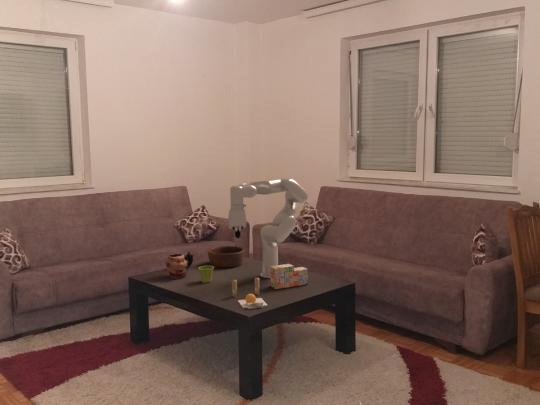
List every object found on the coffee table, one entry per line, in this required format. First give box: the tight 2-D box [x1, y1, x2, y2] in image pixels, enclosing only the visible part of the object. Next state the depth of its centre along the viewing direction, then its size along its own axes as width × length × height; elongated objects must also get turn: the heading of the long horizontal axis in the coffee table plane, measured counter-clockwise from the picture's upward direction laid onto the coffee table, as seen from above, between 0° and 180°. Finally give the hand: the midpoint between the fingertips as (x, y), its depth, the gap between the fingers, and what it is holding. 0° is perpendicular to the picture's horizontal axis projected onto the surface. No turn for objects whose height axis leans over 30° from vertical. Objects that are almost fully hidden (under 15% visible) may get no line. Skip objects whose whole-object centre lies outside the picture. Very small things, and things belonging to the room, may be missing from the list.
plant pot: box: [198, 265, 215, 284], centre depth 332 cm, size 9×9×9 cm
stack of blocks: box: [270, 263, 309, 290], centre depth 321 cm, size 21×6×12 cm, turn 115°
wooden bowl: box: [207, 245, 246, 269], centre depth 373 cm, size 25×25×10 cm
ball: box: [244, 293, 257, 303], centre depth 287 cm, size 6×6×6 cm
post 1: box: [231, 279, 238, 298], centre depth 301 cm, size 3×3×9 cm
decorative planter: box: [165, 253, 188, 279], centre depth 344 cm, size 20×12×14 cm, turn 40°
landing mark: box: [237, 297, 268, 309], centre depth 290 cm, size 13×13×1 cm
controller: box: [183, 251, 194, 269], centre depth 366 cm, size 4×12×10 cm, turn 133°
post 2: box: [254, 277, 261, 296], centre depth 304 cm, size 3×3×9 cm
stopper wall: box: [246, 302, 264, 310], centre depth 282 cm, size 8×2×2 cm, turn 106°
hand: (237, 237), depth 326 cm, fingers closed
